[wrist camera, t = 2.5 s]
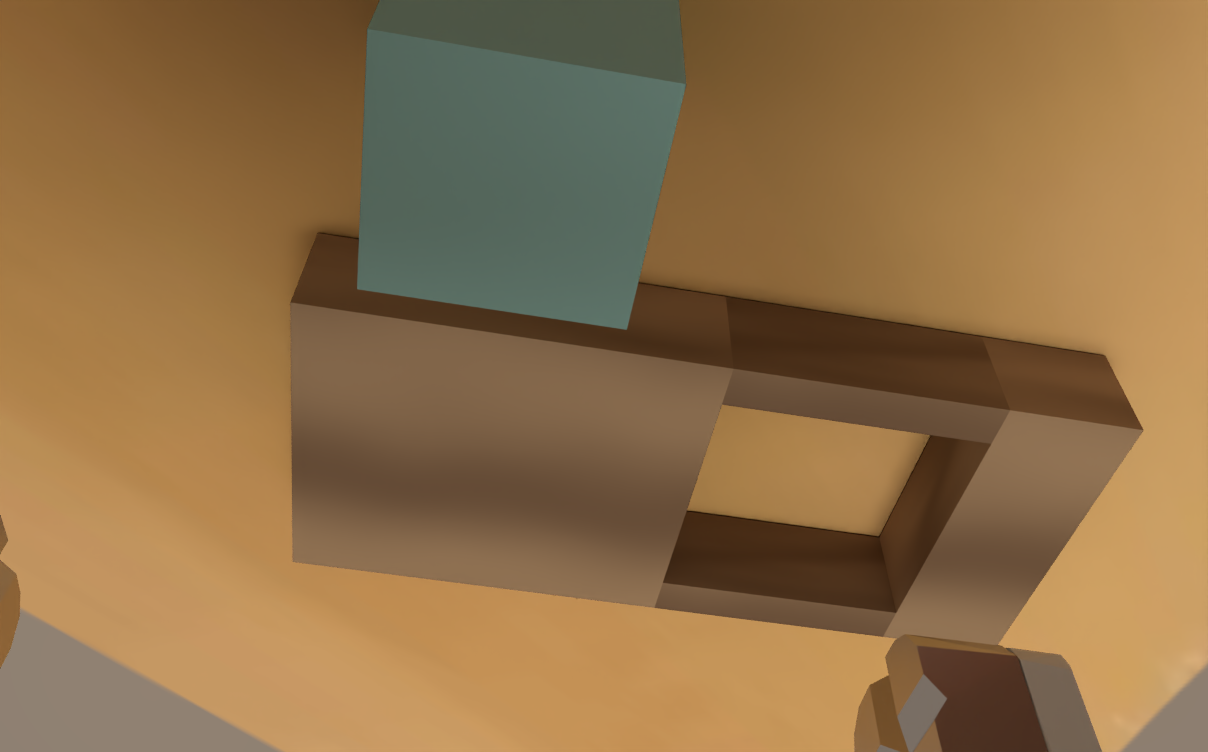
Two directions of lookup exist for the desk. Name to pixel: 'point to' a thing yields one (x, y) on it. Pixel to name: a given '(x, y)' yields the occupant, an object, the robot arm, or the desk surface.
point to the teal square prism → (517, 151)
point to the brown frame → (683, 453)
